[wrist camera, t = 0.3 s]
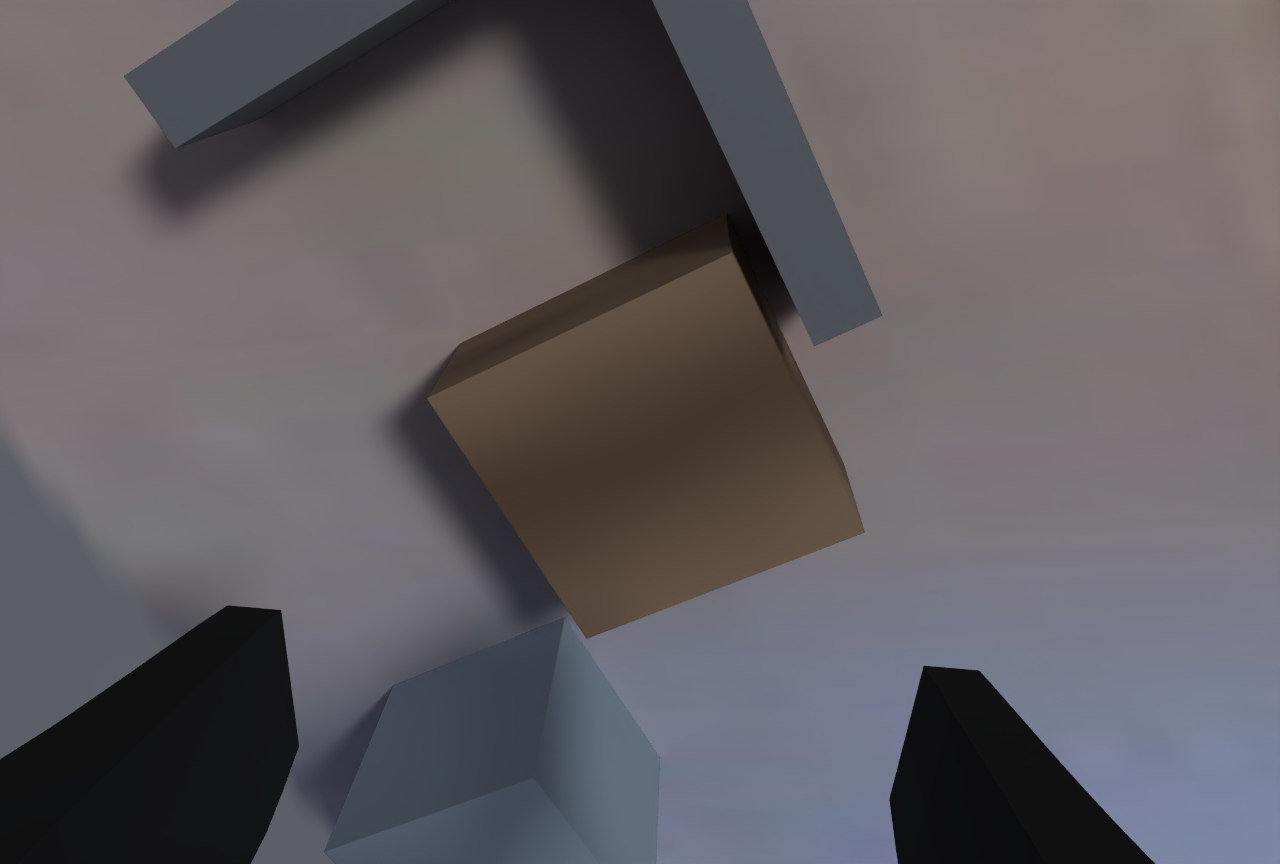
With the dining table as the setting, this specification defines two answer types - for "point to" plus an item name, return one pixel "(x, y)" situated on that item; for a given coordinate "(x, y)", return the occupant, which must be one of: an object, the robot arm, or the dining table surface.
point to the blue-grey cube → (505, 765)
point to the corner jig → (389, 3)
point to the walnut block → (650, 433)
